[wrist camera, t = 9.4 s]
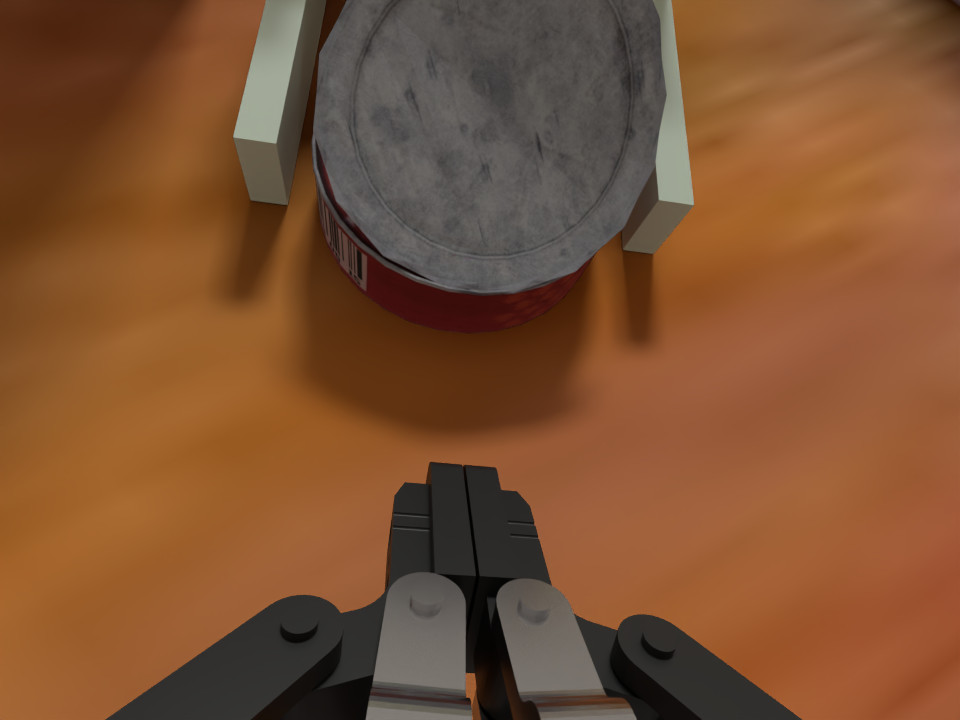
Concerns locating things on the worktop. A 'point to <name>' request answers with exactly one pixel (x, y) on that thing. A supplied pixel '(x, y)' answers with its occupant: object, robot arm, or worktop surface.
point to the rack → (284, 95)
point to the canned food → (482, 149)
